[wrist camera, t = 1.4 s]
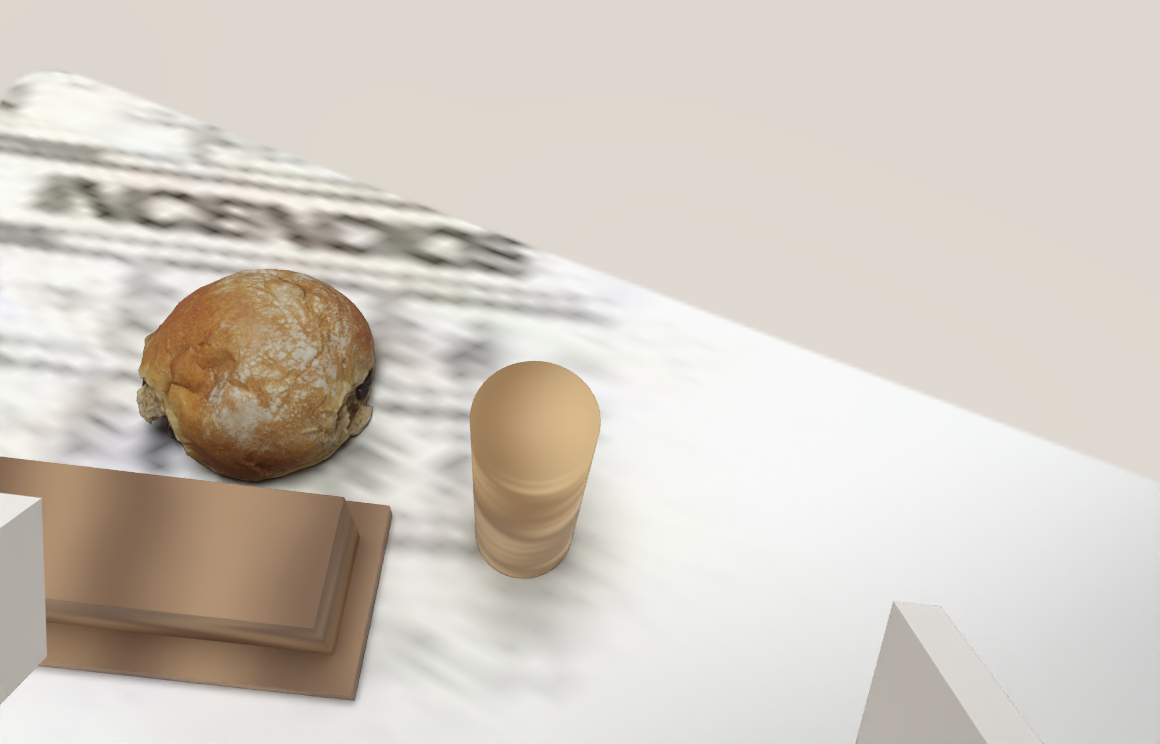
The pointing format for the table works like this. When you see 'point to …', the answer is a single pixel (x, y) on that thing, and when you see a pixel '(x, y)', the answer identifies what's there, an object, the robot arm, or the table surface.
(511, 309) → the table surface
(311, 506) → the base
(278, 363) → the bread roll
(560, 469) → the post
